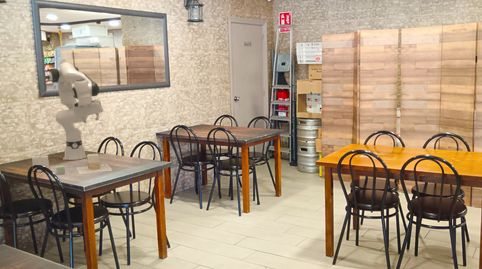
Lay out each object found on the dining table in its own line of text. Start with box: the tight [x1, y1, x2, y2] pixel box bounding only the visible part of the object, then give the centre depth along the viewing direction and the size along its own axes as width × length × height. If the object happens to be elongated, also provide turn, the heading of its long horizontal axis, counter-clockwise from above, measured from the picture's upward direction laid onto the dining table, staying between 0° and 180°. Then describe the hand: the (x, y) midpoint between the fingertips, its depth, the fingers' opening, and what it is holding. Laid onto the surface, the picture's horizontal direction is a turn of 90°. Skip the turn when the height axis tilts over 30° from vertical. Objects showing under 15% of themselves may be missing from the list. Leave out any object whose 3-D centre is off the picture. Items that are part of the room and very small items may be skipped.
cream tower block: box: [86, 153, 100, 164], centre depth 335 cm, size 7×7×5 cm
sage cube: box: [55, 165, 66, 176], centre depth 327 cm, size 5×5×5 cm
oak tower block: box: [87, 161, 100, 170], centre depth 336 cm, size 7×7×5 cm
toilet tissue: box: [31, 154, 50, 173], centre depth 338 cm, size 11×12×10 cm
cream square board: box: [75, 163, 113, 175], centre depth 336 cm, size 24×22×1 cm
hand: (91, 121), depth 333 cm, fingers open, 8 cm apart
